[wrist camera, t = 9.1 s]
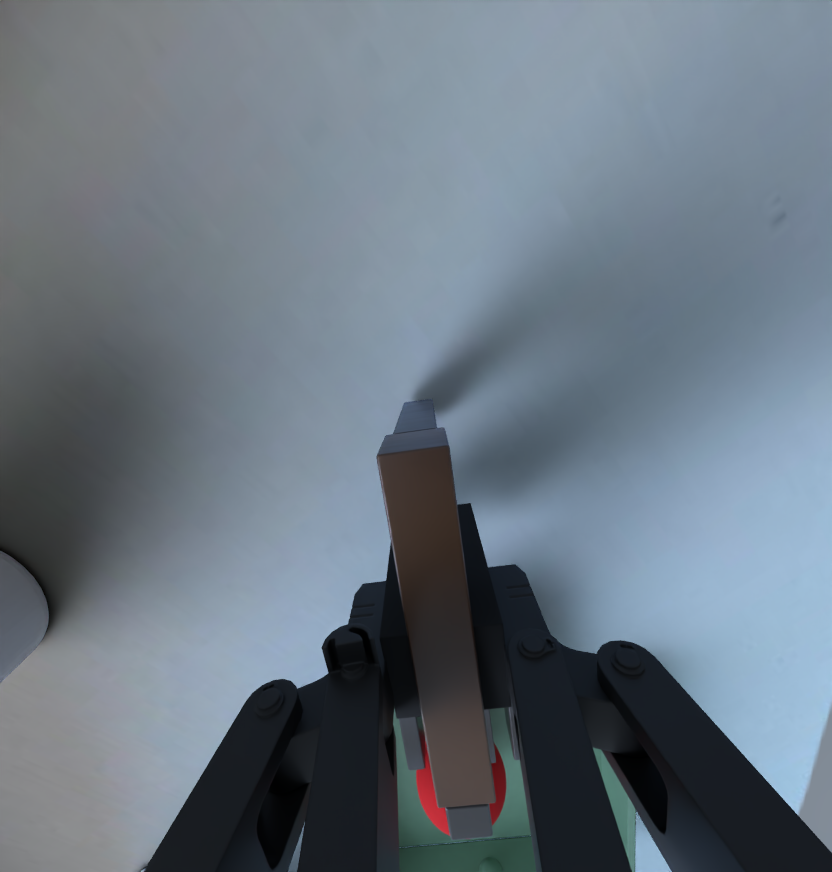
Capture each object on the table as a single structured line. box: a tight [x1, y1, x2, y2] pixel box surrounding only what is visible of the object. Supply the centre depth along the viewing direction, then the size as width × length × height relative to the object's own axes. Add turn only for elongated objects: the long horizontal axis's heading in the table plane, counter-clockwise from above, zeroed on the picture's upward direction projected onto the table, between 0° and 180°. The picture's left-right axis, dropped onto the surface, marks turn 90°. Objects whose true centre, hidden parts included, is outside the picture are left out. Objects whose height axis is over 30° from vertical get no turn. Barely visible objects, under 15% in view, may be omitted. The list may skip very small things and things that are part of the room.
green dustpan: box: [393, 708, 636, 872], centre depth 23 cm, size 20×15×3 cm
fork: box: [377, 399, 520, 840], centre depth 14 cm, size 16×6×8 cm, turn 8°
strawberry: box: [416, 741, 506, 836], centre depth 20 cm, size 4×4×4 cm
